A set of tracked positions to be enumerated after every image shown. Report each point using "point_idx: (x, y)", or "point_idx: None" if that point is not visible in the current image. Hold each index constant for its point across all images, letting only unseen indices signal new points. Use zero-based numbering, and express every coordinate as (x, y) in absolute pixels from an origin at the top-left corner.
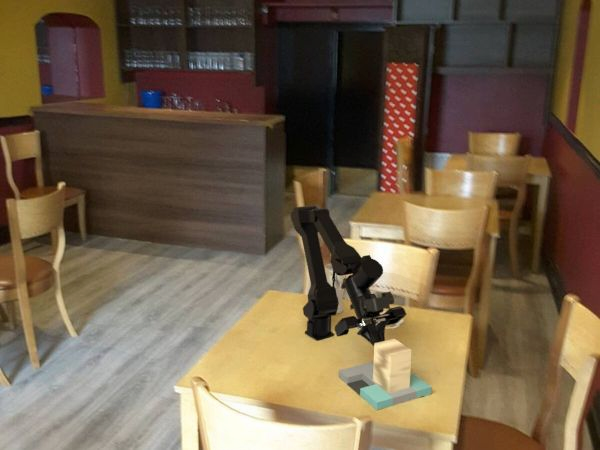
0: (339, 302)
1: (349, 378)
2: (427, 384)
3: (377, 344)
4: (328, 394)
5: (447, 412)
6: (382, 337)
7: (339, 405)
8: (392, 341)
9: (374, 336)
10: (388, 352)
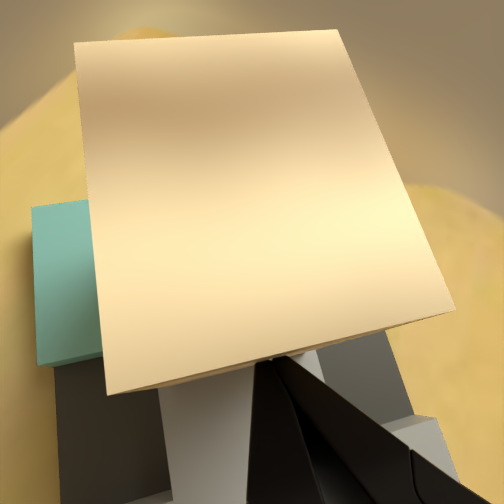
0: None
1: (417, 420)
2: (36, 232)
3: (421, 268)
4: (500, 344)
5: (74, 100)
6: (292, 490)
7: (460, 251)
8: (191, 297)
9: (457, 490)
10: (344, 74)
